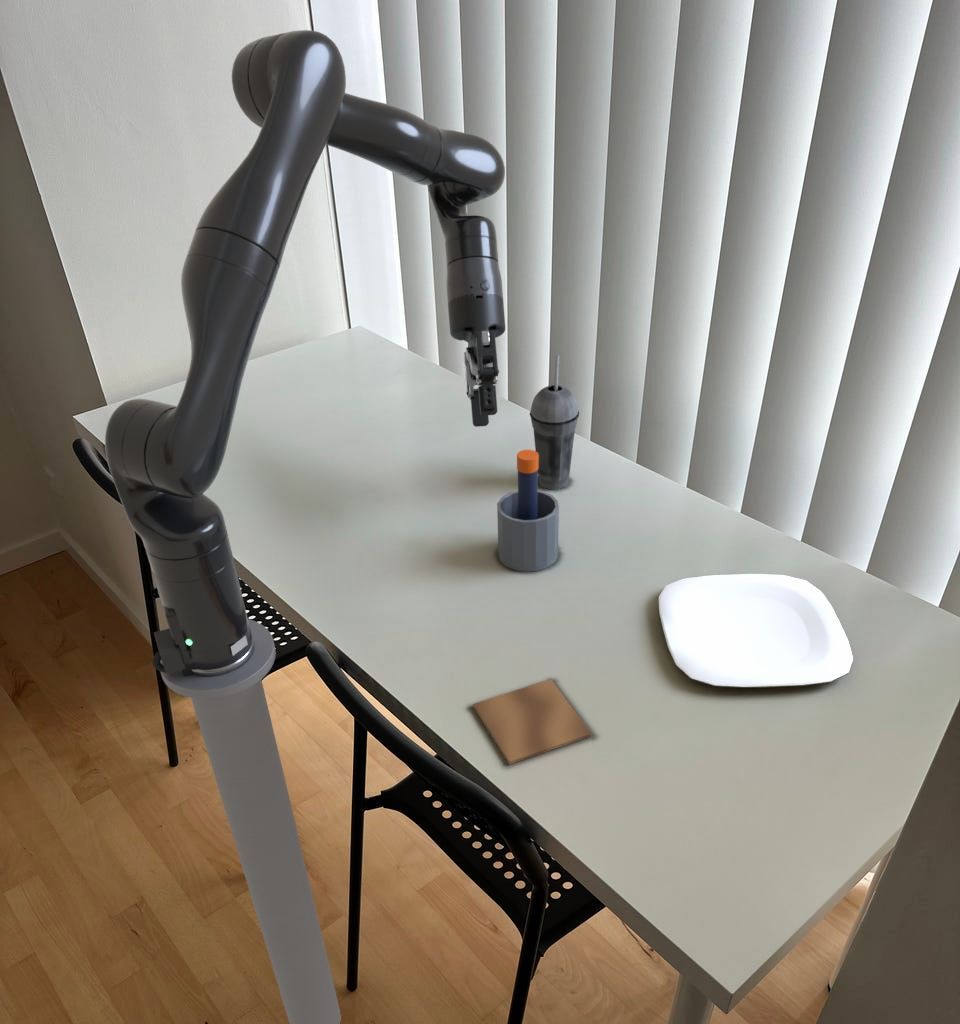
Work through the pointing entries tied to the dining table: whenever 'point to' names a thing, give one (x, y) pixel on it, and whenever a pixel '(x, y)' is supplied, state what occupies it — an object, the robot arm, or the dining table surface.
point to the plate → (753, 631)
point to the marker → (527, 484)
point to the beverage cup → (554, 432)
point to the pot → (528, 533)
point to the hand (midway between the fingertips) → (484, 420)
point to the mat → (531, 721)
